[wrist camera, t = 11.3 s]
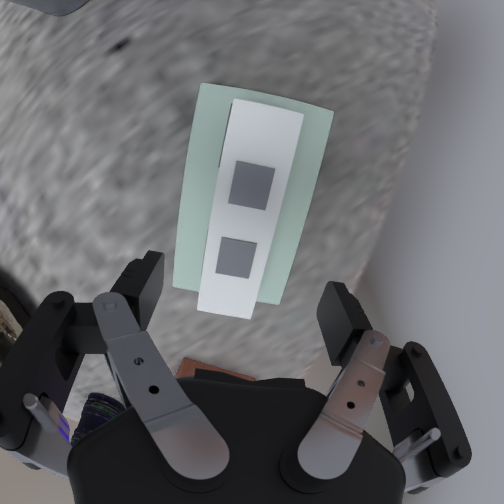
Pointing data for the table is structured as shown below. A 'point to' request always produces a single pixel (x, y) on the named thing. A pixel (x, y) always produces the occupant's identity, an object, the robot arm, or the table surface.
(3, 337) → the stone bowl
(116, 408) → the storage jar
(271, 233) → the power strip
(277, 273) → the hole board
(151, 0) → the table surface
